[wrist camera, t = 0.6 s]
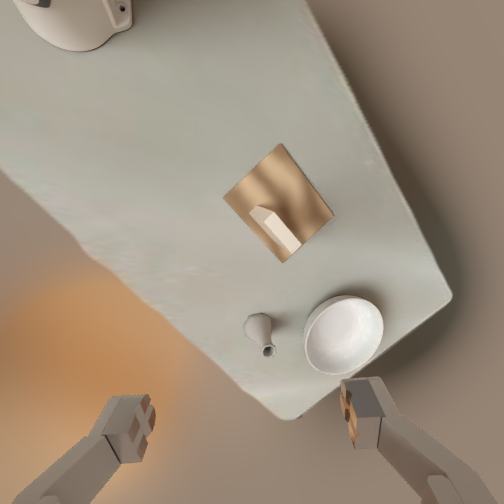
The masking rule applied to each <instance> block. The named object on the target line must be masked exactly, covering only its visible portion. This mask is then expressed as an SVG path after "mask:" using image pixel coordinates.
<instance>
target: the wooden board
mask: <svg viewBox="0 0 504 504" xmlns="http://www.w3.org/2000/svg"><path fill="white" fill-rule="evenodd" d="M223 199H224V200H225V201H226V202H227V203H228V204H229V205H230V206H231V207H232V208H233V210H234V211H235V212H236V213H237V214H238V215H239V216H240V217H241V218H242V219H243V220H244V222H245V223H246V224H247V225H248V226H249V227H250V228H251V229H252V230H253V231H254V233H255V234H256V235H257V236H258V237H259V238H260V239H261V240H262V241H263V242H264V243H265V245H266V246H267V247H268V248H269V249H270V250H271V251H272V252H273V253H274V254H275V256H276V257H277V258H278V259H279V260H280V261H281V262H282V263H283V262H284V261H285V260H287V259H288V258H289V257H290V256H291V255H292V254H293V253H292V254H291V253H290V252H289V251H287V250H286V249H284V248H283V247H282V246H280V245H279V244H278V243H276V242H275V241H274V240H272V239H271V238H270V236H269V235H268V234H267V233H266V232H265V231H264V230H263V229H262V228H261V226H260V225H259V224H258V223H257V222H256V221H255V220H254V219H253V217H252V216H251V215H250V214H249V212H251V211H252V210H253V209H254V208H255V207H256V206H260V207H263V208H265V209H268V210H271V211H273V212H275V214H276V215H277V216H278V217H279V218H280V219H281V221H282V222H283V223H284V224H285V225H286V227H287V228H288V229H289V230H290V231H291V233H292V234H293V235H294V236H295V237H296V238H297V240H298V241H299V242H300V243H301V244H302V245H303V244H304V243H305V242H306V241H307V240H308V239H309V238H310V237H311V236H312V235H313V234H314V233H315V232H316V231H318V230H319V229H320V228H321V227H322V226H323V225H324V224H325V223H326V222H327V221H328V220H329V219H330V218H331V217H333V216H334V215H333V214H332V213H331V211H330V210H329V209H328V207H327V206H326V205H325V203H324V202H323V201H322V199H321V198H320V196H319V195H318V194H317V192H316V191H315V190H314V188H313V187H312V186H311V184H310V183H309V182H308V180H307V179H306V178H305V176H304V175H303V174H302V172H301V171H300V169H299V168H298V167H297V165H296V164H295V163H294V161H293V160H292V159H291V157H290V156H289V155H288V153H287V152H286V151H285V149H284V148H283V147H282V145H281V144H279V145H278V146H277V147H276V148H275V149H274V150H273V151H272V152H271V153H269V154H268V155H267V156H266V157H265V158H264V159H263V160H262V161H261V162H260V163H259V164H258V165H257V166H256V167H255V168H254V169H253V170H252V171H251V172H249V173H248V174H247V175H246V176H245V177H244V178H243V179H242V180H241V181H240V182H239V183H238V184H237V185H236V186H235V187H234V188H233V189H232V190H230V191H229V192H228V193H227V194H226V195H225V196H224V197H223ZM302 245H301V246H302Z"/></svg>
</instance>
